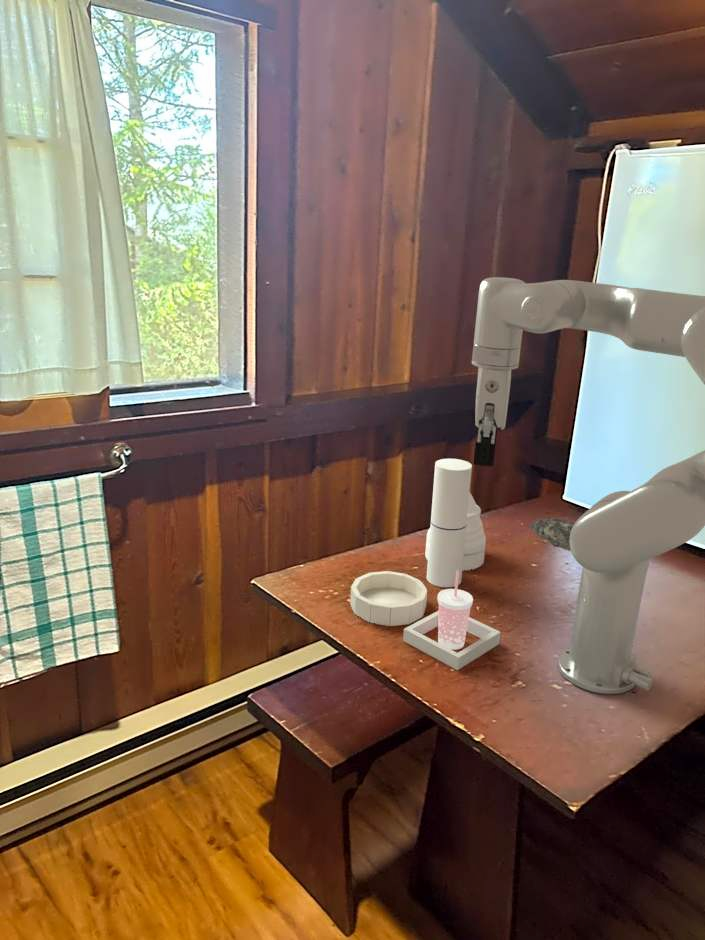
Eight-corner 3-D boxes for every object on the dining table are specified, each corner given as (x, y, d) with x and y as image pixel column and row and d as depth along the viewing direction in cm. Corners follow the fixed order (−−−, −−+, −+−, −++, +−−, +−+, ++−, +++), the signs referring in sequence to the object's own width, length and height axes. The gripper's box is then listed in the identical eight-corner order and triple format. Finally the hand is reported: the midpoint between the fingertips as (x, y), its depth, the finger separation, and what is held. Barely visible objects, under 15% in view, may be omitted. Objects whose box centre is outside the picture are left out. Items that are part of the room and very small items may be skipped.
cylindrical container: (421, 581, 154) (429, 466, 146) (434, 568, 160) (443, 456, 152) (454, 590, 151) (464, 472, 142) (466, 576, 157) (477, 462, 148)
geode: (603, 560, 167) (613, 536, 180) (605, 544, 166) (615, 522, 179) (519, 542, 175) (534, 521, 188) (520, 527, 174) (536, 506, 187)
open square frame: (499, 643, 133) (500, 632, 132) (457, 670, 124) (458, 657, 124) (445, 617, 140) (446, 606, 140) (403, 640, 132) (403, 628, 132)
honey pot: (413, 554, 166) (418, 477, 160) (452, 540, 174) (459, 466, 168) (456, 576, 157) (463, 495, 151) (496, 560, 165) (504, 483, 159)
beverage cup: (468, 654, 129) (475, 581, 125) (432, 649, 130) (438, 577, 125) (469, 635, 135) (476, 565, 130) (434, 631, 136) (440, 561, 131)
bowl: (439, 607, 144) (441, 590, 143) (390, 633, 134) (391, 615, 133) (386, 581, 153) (387, 565, 152) (336, 604, 144) (336, 586, 142)
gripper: (519, 368, 113) (505, 475, 119) (519, 349, 129) (507, 443, 135) (469, 364, 115) (458, 470, 121) (475, 345, 131) (465, 439, 137)
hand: (484, 456), depth 128 cm, fingers open, 9 cm apart
